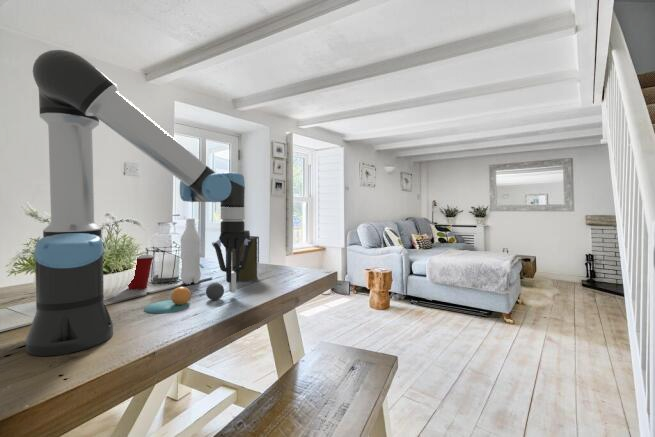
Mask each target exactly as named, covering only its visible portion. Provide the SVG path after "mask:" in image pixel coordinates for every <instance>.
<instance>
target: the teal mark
mask: <svg viewBox="0 0 655 437" xmlns="http://www.w3.org/2000/svg"><path fill="white" fill-rule="evenodd" d="M189 306H190V303H189V301H188V302H187V303H186V304H184V305H176V304H174V303H173V302H172V300H170V299H169V300H163V301H162V300H161V301H158V302H153V303H151V304H148V305H146V306H144V308H143V311H144V312H145V313H149V314H169V313H174V312H179V311H182V310H184V309H187V308H188V307H189Z"/></svg>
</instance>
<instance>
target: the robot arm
mask: <svg viewBox="0 0 655 437" xmlns="http://www.w3.org/2000/svg"><path fill="white" fill-rule="evenodd" d="M32 75H33V76H32V77H33V79H34V81H35V84H36V85H37V89H38V106H39V107H38V108H39V117H40V119H42V120H43V121H44V122H45V123H46V124H47V126H48V156H49V158H48V160H49V190H50V191H49V192H50V193H49V195H50V223H49V225H47V226H46V227H45V228H43V229H42V235H43V236H42V237H41V238H40V239H38V240H37V241H36V243H35V246H34V251H33V258H34V263H35V267H34V268H35V304H36V306H35V307H36V309H35V310H36V312H35V315H34V317H33V319H32V322H31V326H30V328H29V330H28V334H27V335H26V338H25V352H26V353H27V354H29V355H32V356H37V357H38V356H41V357H45V356H46V357H49V356H58V355H65V354H70V353H71V354H72V353H75V352H79V351H83V350H86V349H90V348H93V347H95V346H98V345H100V344H102V343H104V342H106V341H107V340H109V339H110V338H111V337H112V336H113V335H114V324H113V321H112V318H111V316H110V313H109V311H108V309H107V306H106V305H105V300H104V253H105V248H104V245H103V240H102V239H103V237H102V236H103V235H102V227H101V226H100V225H98V224H97V223H96V222H95V200H94V199H95V198H94V194H95V192H94V160H93V158H94V156H93V155H94V154H93V153H94V152H93V129H95V128H96V127H98V126H99V124H100V121H101V123H103V124H105V125H106V127H108V128H110V129H111V130H113V131H114V132H115V133H117V134H118V135H119V136H121V137H122V138H123V139H125V140H126V141H127V142H128V143H130V144H131V145H132V146H134V147H135V148H136V149H138V150H139V151H140V152H142V153H144V155H146V156H147V157H148V158H150V160H153V161H154V162H156V164H158V165H159V166H160V167H162V168H163V169H164V170H166V171H167V172H168V173H170V174H171V175H172V176H174V178H176V179H178V180H179V181H180V182H179V197H180V199H181V200H182V201H183V202H187V203H188V202H189V203H195V202H196V203H206V202H207V203H220V220H221V222H220V233H219V234H220V235H219V237H218V239H217V240H216V241H213V242H212V243H211V245H212V247H213V248H214V249H215V254H216V257H217V261H218V266H219V268H220V271H221V272H223V273H225V280H226V282H227V283H228V287H229V288H228V289H229V290H228V291H229V292H230V293H232V294H234V293H237V283H238V282H237V281H239V272H240V270H244V269H245V265H246V260H247V256H248V252H249V248H250V246H251V245H252V241H249V240H248V239H246V236H245V234H244V231H245V221H243V220H245V191H246V190H245V189H246V187H245V186H246V185H245V177H244V175H243V173H239V172H222V173H218V172H215V171H214V170H213V169H212V168H211V167H209V166H207V164H206V163H204V162H203V161H202V160H200V158H198V157H197V156H196V155H195V154H193V153H192V152H191V151H189V150H188V148H186V147H185V146H184V145H183V144H181V143H180V142H179V141H178V140H176V138H174V137H173V136H172V135H171V134H169V133H168V132H167V131H165V130H164V129H163V128H162V127H160V125H159V124H157V123H156V122H155V121H154V120H152V119H151V118H150V117H149V116H147V115H146V113H144V112H143V111H142V110H140V109H139V108H138V107H136V106H135V105H134V104H133V103H132V102H131V101H129V100H128V99H127V98H126V97H124V96H123V95H122V94H121V93H119V90H118V85H117V84H116V83H114V81H112V80H111V79H110V78H108V77H107V76H106V75H105V74H104V73H103V72H101V70H99V69H98V68H96V66H94V65H93V64H92V63H91V62H90V61H88V60H87V59H85V58H84V57H82V56H81V55H78V54H77V53H74V52H72V51H68V50H64V49H53V50H52V49H51V50H50V49H49V50H47V51H45V52H43V53H41V54H40V55H39V56H38V57H37V58H36V59H35V61H34V63H33V66H32ZM243 242H244V247H243V252H242V256H241V260H240V264H239V252H240V247H241V245H242V244H243ZM222 245H223V247H224V248H225V260H224V255H223V253H222V252H223V251H222V249H221V246H222ZM232 249H233V251H234V271H232Z"/></svg>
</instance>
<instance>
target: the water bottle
mask: <svg viewBox="0 0 655 437" xmlns="http://www.w3.org/2000/svg"><path fill="white" fill-rule="evenodd" d="M201 241H202V240H201V236H200V234H199V232H198V230H197V229H196V219H195V218H186V223H185V230H184V232H182V235H181V237H180V259H181V272H180V280H181V283H182V284H184V283H185V285H188V284H189V285H191V284H192V283H193V284H198V283H199V282H200V279H201V277H202V272H201V267H200V261H201V257H202V256H201V255H202V254H201Z"/></svg>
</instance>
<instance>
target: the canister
mask: <svg viewBox="0 0 655 437" xmlns="http://www.w3.org/2000/svg"><path fill="white" fill-rule="evenodd" d="M244 234H245V236H246V239H248V240H249V241H252V245H251V246H250V248H249V252H248V256H247V260H246V265H245V269H244V270H240V272H239V281H237V282H236V283H238V282H239V283H245V282H253V281H254V282H255V281H257V279H258V264H259V263H260V237H259V236H257V235H256V236H255V235H251V234H250V230H244ZM243 247H244V242H243V244H242V245H241V247H240V252H239V264H240V260H241V256H242V252H243ZM232 271H234V251H233V249H232Z"/></svg>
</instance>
